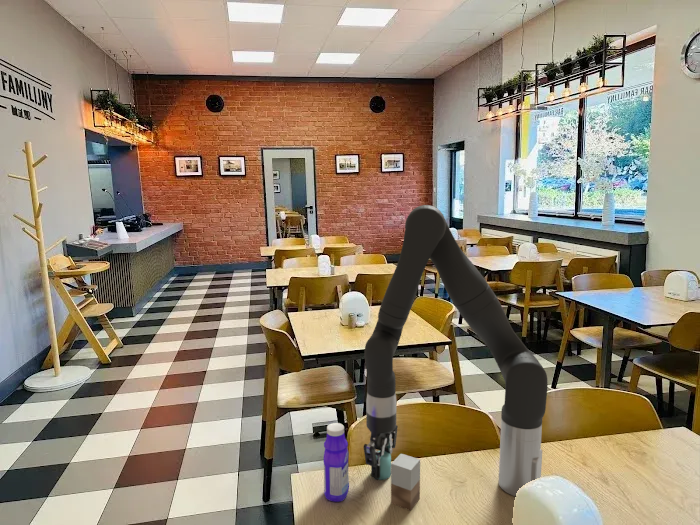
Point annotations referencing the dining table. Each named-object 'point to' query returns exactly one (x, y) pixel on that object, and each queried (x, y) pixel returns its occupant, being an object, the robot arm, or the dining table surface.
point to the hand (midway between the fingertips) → (381, 471)
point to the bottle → (336, 463)
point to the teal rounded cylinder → (385, 466)
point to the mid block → (405, 471)
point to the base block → (405, 496)
